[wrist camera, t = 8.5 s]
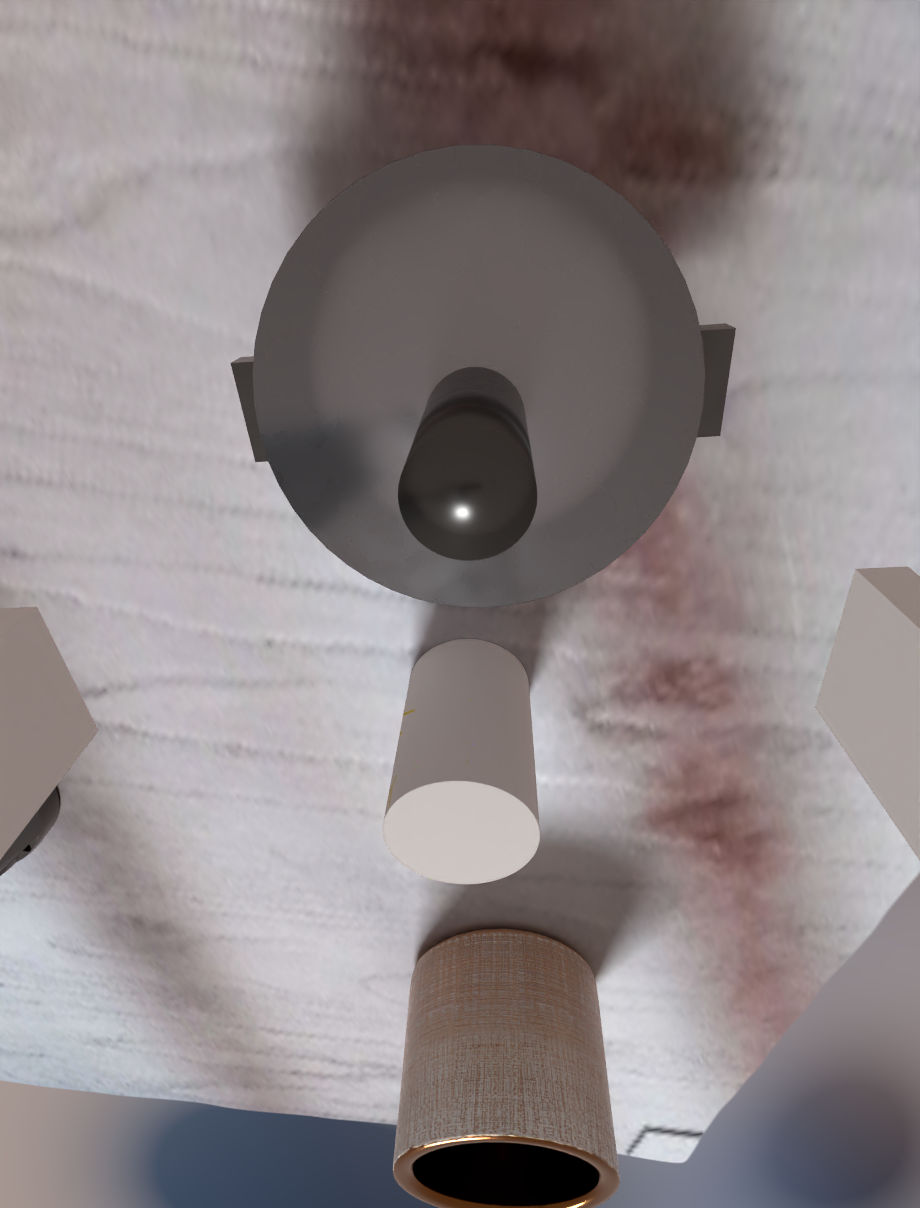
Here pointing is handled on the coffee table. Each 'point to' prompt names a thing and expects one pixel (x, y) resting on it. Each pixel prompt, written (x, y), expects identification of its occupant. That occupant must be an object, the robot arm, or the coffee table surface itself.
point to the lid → (478, 375)
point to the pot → (716, 380)
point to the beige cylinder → (464, 767)
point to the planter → (505, 1078)
